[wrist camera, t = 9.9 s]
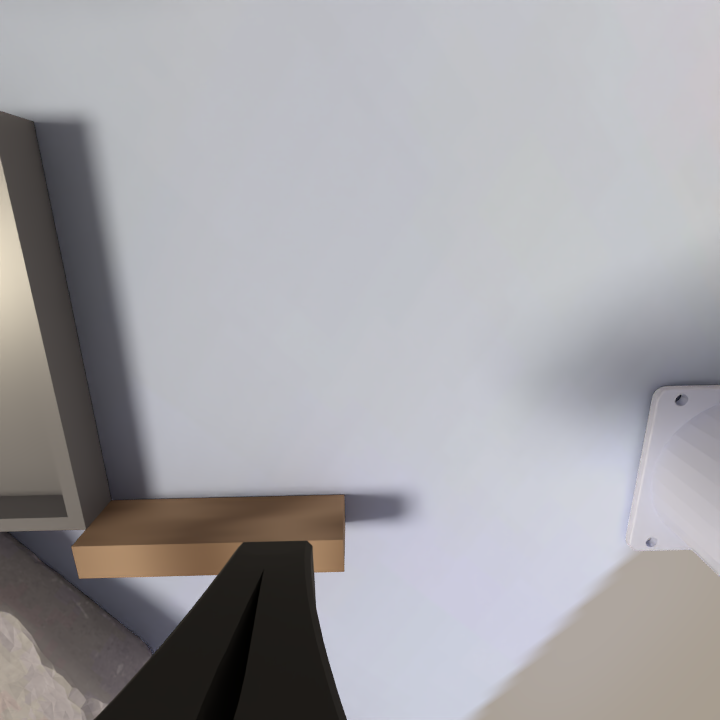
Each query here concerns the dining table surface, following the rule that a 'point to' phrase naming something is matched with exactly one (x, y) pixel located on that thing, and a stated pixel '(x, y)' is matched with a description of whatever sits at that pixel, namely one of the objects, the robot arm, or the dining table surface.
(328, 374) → the dining table surface
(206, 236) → the dining table surface
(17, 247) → the tray
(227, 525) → the pair of wooden bars
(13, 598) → the stone block
